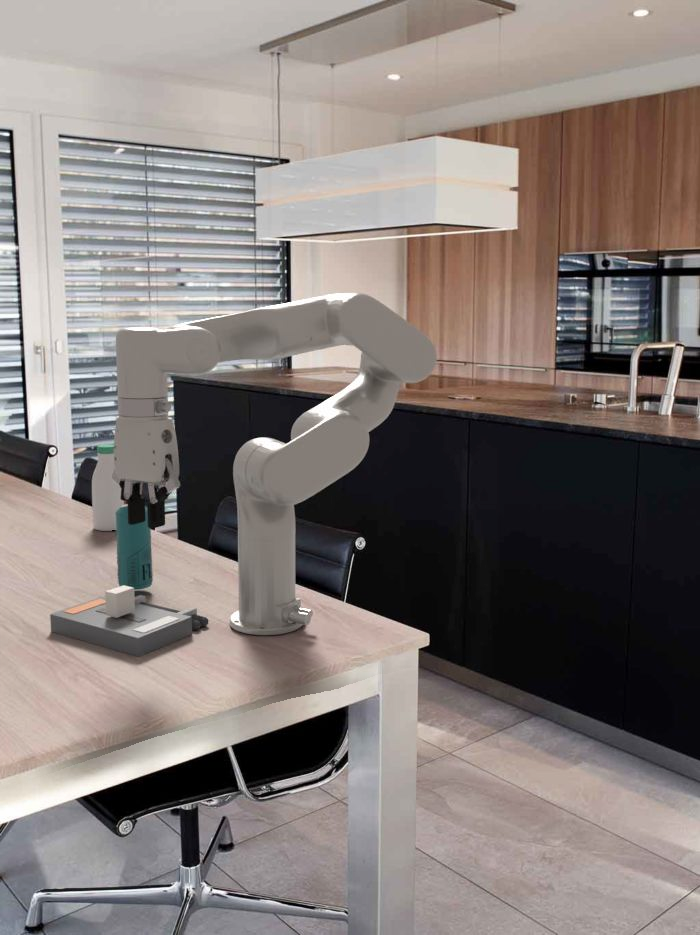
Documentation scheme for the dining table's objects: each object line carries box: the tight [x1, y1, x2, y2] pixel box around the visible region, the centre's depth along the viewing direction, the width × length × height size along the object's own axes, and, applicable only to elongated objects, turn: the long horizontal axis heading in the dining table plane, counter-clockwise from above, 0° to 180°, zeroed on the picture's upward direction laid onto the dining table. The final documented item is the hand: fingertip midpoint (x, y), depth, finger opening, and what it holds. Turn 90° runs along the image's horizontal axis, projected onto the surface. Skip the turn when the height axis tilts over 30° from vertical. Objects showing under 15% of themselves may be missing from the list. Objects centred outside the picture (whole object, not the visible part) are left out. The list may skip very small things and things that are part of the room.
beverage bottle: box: [115, 488, 154, 591], centre depth 175 cm, size 6×7×20 cm
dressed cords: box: [134, 594, 209, 631], centre depth 163 cm, size 20×4×2 cm, turn 57°
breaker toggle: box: [105, 585, 135, 618], centre depth 155 cm, size 2×4×4 cm, turn 147°
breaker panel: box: [49, 595, 193, 658], centre depth 155 cm, size 20×12×3 cm, turn 57°
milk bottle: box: [91, 443, 127, 532], centre depth 225 cm, size 8×8×20 cm
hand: (146, 523), depth 149 cm, fingers open, 3 cm apart
